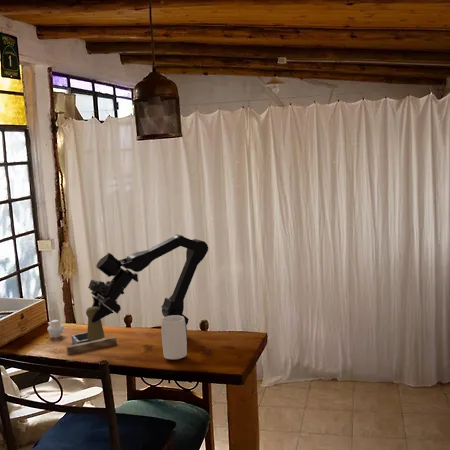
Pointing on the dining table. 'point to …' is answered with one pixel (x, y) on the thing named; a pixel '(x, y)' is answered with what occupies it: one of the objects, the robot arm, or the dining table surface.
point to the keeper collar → (80, 338)
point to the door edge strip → (91, 345)
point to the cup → (174, 337)
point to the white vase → (55, 328)
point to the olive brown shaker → (94, 325)
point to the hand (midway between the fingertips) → (90, 320)
